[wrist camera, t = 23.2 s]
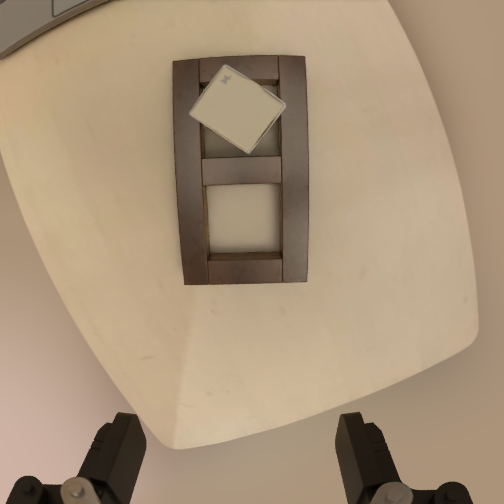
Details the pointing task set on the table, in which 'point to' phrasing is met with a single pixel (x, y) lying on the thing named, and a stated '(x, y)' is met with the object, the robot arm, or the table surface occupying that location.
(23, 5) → the laptop
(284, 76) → the socket pad
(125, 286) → the table surface
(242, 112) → the box
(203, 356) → the table surface
